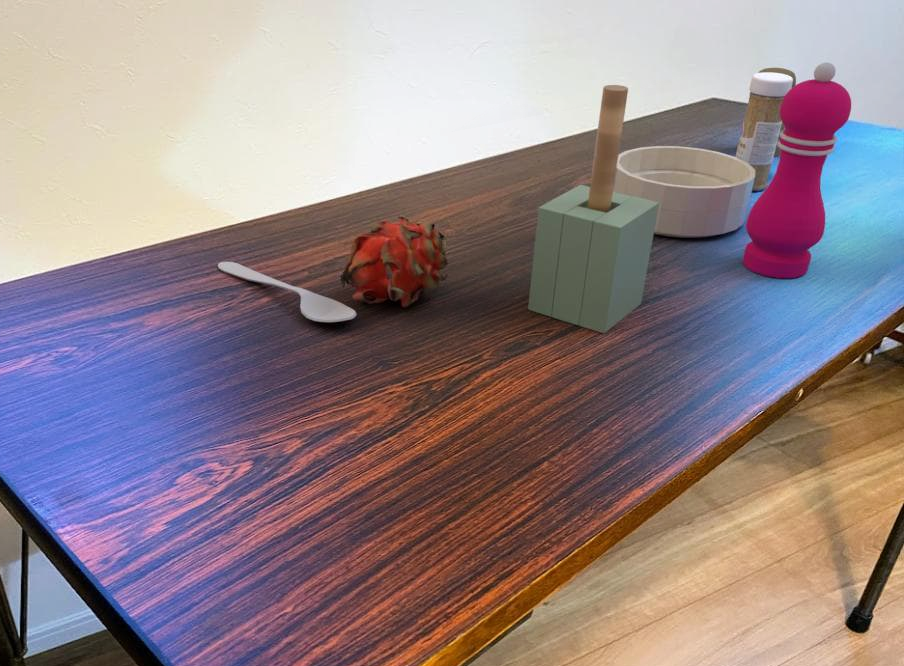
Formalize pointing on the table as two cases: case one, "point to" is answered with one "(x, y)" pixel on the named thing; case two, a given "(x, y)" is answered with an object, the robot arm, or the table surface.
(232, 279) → the table surface
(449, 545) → the table surface
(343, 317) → the spoon
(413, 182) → the table surface
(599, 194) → the cooking stick
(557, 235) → the utensil block
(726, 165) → the bowl
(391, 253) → the dragon fruit
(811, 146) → the pepper mill
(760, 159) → the sprinkles bottle
